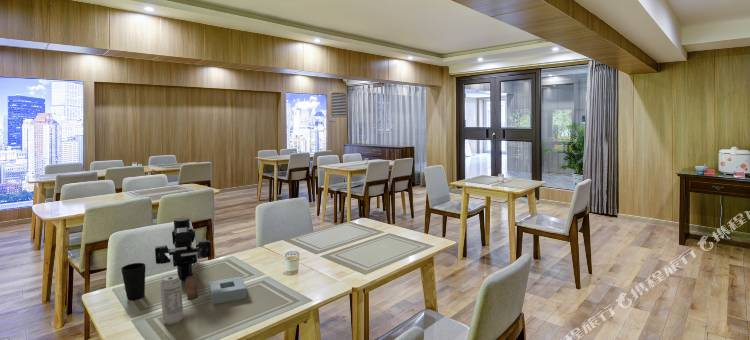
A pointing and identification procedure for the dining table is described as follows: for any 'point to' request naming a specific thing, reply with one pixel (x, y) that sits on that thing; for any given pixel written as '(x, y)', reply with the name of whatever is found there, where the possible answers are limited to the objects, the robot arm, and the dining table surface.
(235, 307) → the dining table surface
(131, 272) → the cup
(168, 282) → the energy drink can
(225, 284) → the socket
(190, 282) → the dowel
